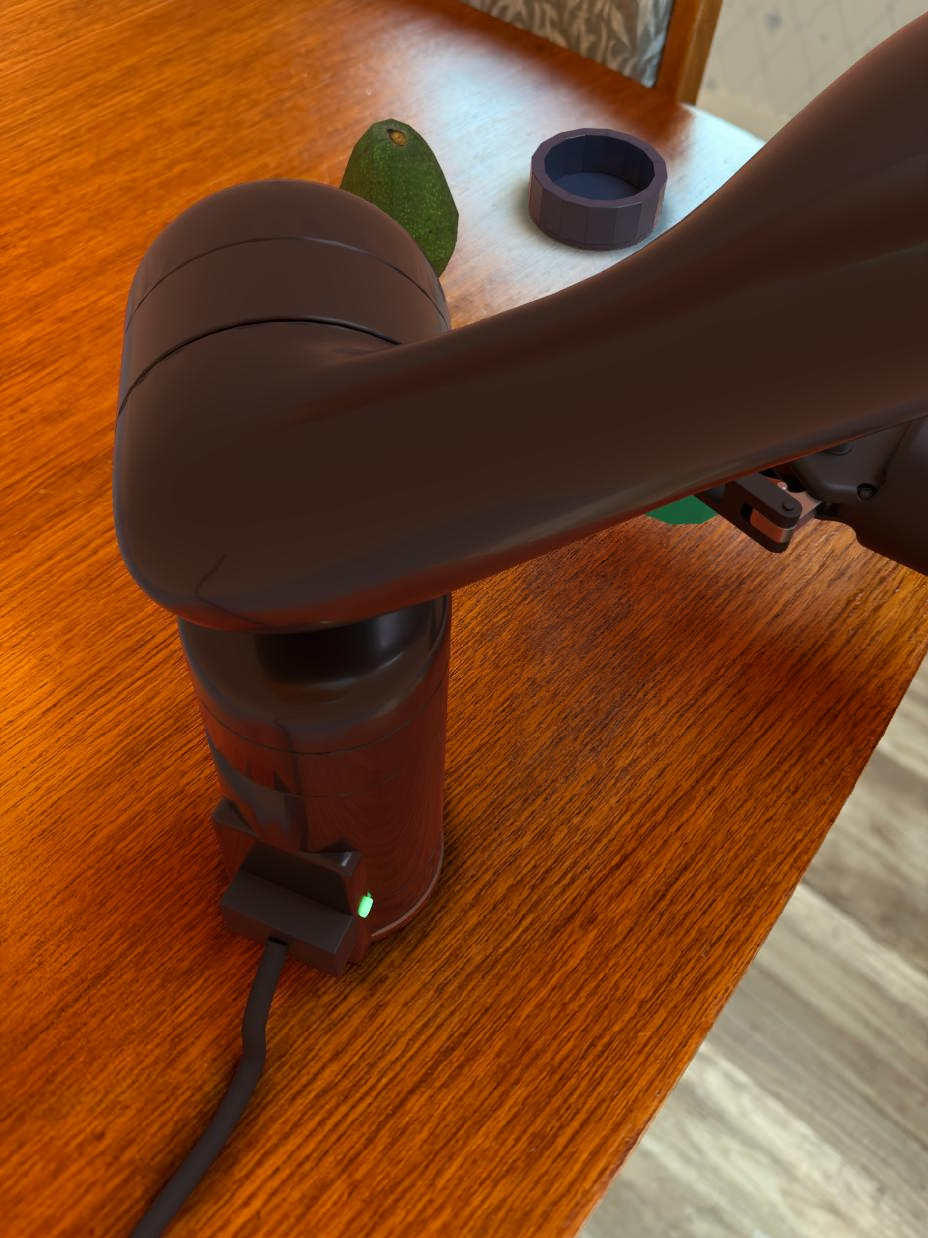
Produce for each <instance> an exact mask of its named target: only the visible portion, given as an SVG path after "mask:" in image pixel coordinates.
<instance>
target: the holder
mask: <svg viewBox="0 0 928 1238" xmlns="http://www.w3.org/2000/svg"><path fill="white" fill-rule="evenodd" d="M668 178H669V175H668V169H667V163H666V160H665V159H664V158H663V156H662V155H661V154H660V153H659V151H657V150H656V148H655V147H654V146H652V145H651V144H649V143H648V142H645V141H644V140H642V139H640V138H639V137H637V136H636V135H633V134H631V133H630V134H629V133H625V132H622V131H618V130H615V129H612V128H611V129H610V128H599V127H581V128H575V129H570V130H567V131H561V132H558V133H556V134H554V135H552V136H551V137H549V138H547V139H545V140H544V141H542V142H541V143H539V145H538V147H537V148H536V150H535V151H534V152H533V154H532V155H531V158H530V169H529V181H528V193H527V196H528V197H527V198H528V199H527V200H528V201H527V210H528V214H529V217H530V219H531V221H532V223H533V224H534V225H535V227H536V228H537V229H538V231H540V232H541V233H543V234H544V235H545V236H547V237H549V238H550V239H552V240H553V241H555V242H557V243H560V244H563V245H566V246H568V247H571V248H575V249H579V250H584V251H585V250H586V251H595V252H597V251H598V252H605V251H616V250H621V249H625V248H628V247H631V246H634V245H636V244H639V243H640V242H642V241H644V240H645V239H647V238H648V237H649V236H650V235H651V234H652V233H653V232H654V230H655V229H656V227H657V225H658V223H659V219H660V216H661V214H662V209H663V203H664V198H665V194H666V189H667V183H668Z"/></svg>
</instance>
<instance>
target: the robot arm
mask: <svg viewBox="0 0 928 1238" xmlns="http://www.w3.org/2000/svg"><path fill="white" fill-rule="evenodd" d="M124 312H125V314H124V322H123V337H122V347H121V348H122V349H121V357H120V367H119V378H118V389H117V390H118V391H117V401H116V411H115V422H114V423H115V424H114V440H113V447H112V448H113V449H112V470H111V471H112V473H111V474H112V475H111V481H112V482H111V499H112V501H111V502H112V514H113V521H114V522H113V523H114V529H115V536H116V543H117V546H118V551H119V553H120V556H121V558H122V561H123V563H124V565H125V568H126V570H127V572H128V573H129V575H130V576H131V578H132V580H133V581H134V583H135V584H136V585H137V586H138V587H139V588H140V589H141V591H142V592H143V593H144V594H145V595H146V596H147V597H148V598H149V599H150V600H151V601H152V602H153V603H155V604H156V605H157V606H159V607H160V608H162V609H164V610H165V611H166V612H168V613H170V614H172V615H174V616H175V617H176V618H175V619H176V625H177V631H178V637H179V641H180V645H181V648H182V649H181V650H182V652H183V656H184V660H185V662H186V667H187V671H188V675H189V677H190V680H191V683H192V688H193V691H194V694H195V698H196V701H197V705H198V709H199V712H200V713H199V714H200V716H201V721H202V724H203V728H204V732H205V736H206V740H207V742H208V746H209V747H208V748H209V750H210V753H211V754H210V755H211V757H212V761H213V764H214V768H215V773H216V775H217V780H218V783H219V786H220V790H221V794H222V795H221V797H220V799H219V800H218V802H217V803H216V805H215V807H214V808H213V810H212V812H211V814H210V817H209V818H210V821H211V825H212V829H213V831H214V835H215V838H216V841H217V842H216V843H217V845H218V848H219V852H220V855H221V857H222V862H223V865H224V868H225V871H226V875H227V878H228V881H229V884H228V886H227V888H226V889H225V892H224V893H223V894H222V896H221V898H220V900H219V902H218V906H219V909H220V913H221V914H222V918H223V921H224V924H225V927H226V929H227V931H229V932H232V933H234V934H237V935H238V936H241V937H243V938H245V939H247V940H250V941H252V942H254V943H256V944H259V945H261V946H264V948H263V951H262V953H261V957H260V958H259V959H260V960H259V963H258V965H257V969H256V971H255V974H254V977H253V980H252V983H251V986H250V989H249V993H248V996H247V998H246V999H247V1000H246V1002H245V1006H244V1011H243V1015H242V1020H241V1027H240V1029H241V1030H240V1031H241V1033H240V1034H241V1044H242V1052H241V1057H240V1060H239V1062H238V1066H237V1068H236V1071H235V1073H234V1075H233V1078H232V1081H231V1083H230V1084H229V1087H228V1089H227V1091H226V1093H225V1095H224V1097H223V1099H222V1100H221V1103H220V1105H219V1106H218V1108H217V1110H216V1112H215V1113H214V1115H213V1117H212V1119H211V1120H210V1122H209V1123H208V1125H207V1126H206V1128H205V1129H204V1131H203V1132H202V1135H201V1136H200V1137H199V1139H198V1140H197V1141H196V1143H195V1145H194V1146H193V1147H192V1149H191V1150H190V1152H188V1155H187V1156H186V1157H185V1158H184V1160H183V1161H182V1163H181V1164H180V1165H179V1167H178V1168H177V1170H176V1171H175V1172H174V1173H173V1175H172V1176H171V1178H170V1179H169V1180H168V1182H167V1183H166V1184H165V1186H164V1187H163V1188H162V1190H161V1191H160V1192H159V1194H157V1196H156V1198H155V1199H154V1200H153V1202H151V1204H150V1205H149V1207H148V1208H147V1210H146V1211H145V1212H144V1214H143V1215H142V1217H140V1219H139V1220H138V1222H137V1223H136V1225H135V1226H134V1228H133V1229H132V1230H131V1232H130V1233H129V1235H128V1236H127V1238H161V1236H162V1234H163V1233H164V1231H165V1230H166V1229H167V1228H168V1226H169V1225H170V1223H171V1222H172V1221H173V1219H174V1218H175V1216H176V1215H177V1213H178V1212H179V1211H180V1209H181V1208H182V1207H183V1205H184V1204H185V1202H186V1201H187V1200H188V1198H189V1197H190V1195H192V1193H193V1192H194V1190H195V1189H196V1187H197V1186H198V1185H199V1183H200V1182H201V1181H202V1180H203V1178H204V1176H205V1175H206V1174H207V1172H208V1170H209V1169H210V1168H211V1166H212V1165H213V1163H214V1162H215V1161H216V1159H217V1158H218V1156H219V1154H220V1153H221V1152H222V1150H223V1149H224V1147H225V1145H226V1144H227V1142H228V1140H230V1137H231V1135H233V1132H234V1131H235V1129H236V1127H237V1125H238V1123H239V1122H240V1120H241V1118H242V1116H243V1114H244V1112H245V1110H246V1108H247V1106H248V1105H249V1102H250V1100H251V1098H252V1095H253V1093H254V1092H255V1089H256V1087H257V1085H258V1081H259V1079H260V1077H261V1074H262V1072H263V1069H264V1067H265V1063H266V1059H267V1043H266V1029H267V1022H268V1018H269V1015H270V1014H269V1013H270V1010H271V1006H272V1002H273V999H274V995H275V993H276V989H277V987H278V984H279V981H280V978H281V975H282V972H283V969H284V967H285V963H286V960H287V958H288V957H289V958H290V959H293V960H295V961H297V962H299V963H302V964H304V965H306V966H309V967H310V968H313V969H315V970H318V971H320V972H322V973H324V974H326V975H328V976H331V977H333V978H336V979H339V978H340V977H341V975H342V974H343V971H344V969H345V967H346V966H347V965H346V964H347V963H348V962H350V963H352V964H358V963H361V962H362V960H363V959H364V957H365V955H366V952H367V951H368V949H369V948H370V946H371V945H372V944H373V943H376V942H379V941H380V940H384V939H385V938H388V937H389V936H391V935H393V934H395V933H397V932H398V931H399V930H401V929H402V928H404V927H405V926H406V925H408V924H409V923H410V922H411V921H413V920H414V918H415V917H416V916H417V915H418V914H420V912H421V911H422V910H423V909H424V907H425V906H426V904H427V903H428V902H429V900H430V899H431V897H432V896H433V894H434V891H435V890H436V887H437V885H438V883H439V881H440V877H441V873H442V870H443V864H444V852H445V837H444V836H445V835H444V827H443V825H444V824H443V823H444V797H445V772H446V771H445V769H446V750H447V749H446V747H447V728H448V727H447V725H448V724H447V723H448V702H449V701H448V700H449V688H450V687H449V686H450V665H451V664H450V663H451V644H452V642H451V641H452V621H453V620H452V619H453V592H455V591H457V590H460V589H463V588H465V587H467V586H470V585H473V584H475V583H477V582H480V581H483V580H485V579H488V578H490V577H493V576H496V575H498V574H500V573H503V572H505V571H508V570H510V569H513V568H515V567H518V566H520V565H523V564H525V563H528V562H530V561H532V560H535V559H537V558H539V557H542V556H545V555H548V554H549V553H553V552H554V551H557V550H560V549H562V548H564V547H567V546H569V545H572V544H574V543H576V542H580V541H581V540H584V539H586V538H588V537H591V536H594V535H596V534H598V533H601V532H603V531H605V530H609V529H611V528H613V527H616V526H618V525H621V524H624V523H625V522H628V521H631V520H633V519H636V518H638V517H641V516H643V515H644V514H646V513H648V512H651V511H653V510H656V509H658V508H661V507H663V506H666V505H668V504H671V503H673V502H676V501H678V500H681V499H684V498H686V497H689V496H691V495H694V496H695V497H696V498H698V499H699V500H700V501H702V502H703V503H704V504H706V505H707V506H708V507H710V508H711V509H712V510H714V511H715V512H716V513H718V514H719V515H718V516H720V517H721V518H723V519H724V520H726V521H727V522H728V523H730V524H731V525H733V526H734V527H735V528H737V530H739V531H741V532H742V533H743V534H744V535H746V536H747V537H748V538H750V540H752V541H754V542H755V543H757V544H758V545H759V546H761V547H762V548H763V549H765V550H766V551H767V552H769V553H773V554H782V553H784V552H786V551H787V550H788V549H789V547H790V543H791V541H792V539H793V537H794V535H795V533H796V532H797V531H799V530H800V529H801V528H802V527H804V526H805V525H806V524H807V523H808V522H810V521H812V519H814V520H817V521H827V522H833V523H834V522H835V523H839V524H843V525H845V526H848V527H849V528H851V529H852V530H853V532H854V533H855V537H856V541H857V543H858V544H859V545H860V546H861V547H863V548H865V549H867V550H869V551H871V552H873V553H876V554H877V555H880V556H882V557H884V558H887V559H888V560H890V561H893V562H895V563H897V564H899V565H901V566H903V567H905V568H907V569H910V570H912V571H914V572H917V573H918V574H920V575H923V576H925V577H927V578H928V11H926V12H924V13H922V14H921V15H920V16H918V17H917V18H914V19H913V20H912V21H910V22H908V23H906V24H905V25H904V26H902V27H901V28H899V29H898V30H897V31H895V32H894V33H892V34H891V35H889V36H888V37H887V38H885V39H884V40H883V41H881V42H880V43H878V44H877V45H876V46H875V47H873V48H872V49H871V50H870V51H868V52H867V53H866V54H864V55H863V56H861V58H859V59H858V60H857V61H856V62H854V63H853V64H852V65H850V67H848V69H846V70H845V71H844V72H843V73H841V75H839V76H838V77H837V78H836V79H835V80H833V82H831V83H830V84H829V85H828V86H827V87H826V88H823V90H822V91H821V92H820V93H818V94H817V95H816V96H815V97H813V99H812V100H811V101H810V102H808V104H806V105H805V106H804V107H803V108H802V109H801V110H800V111H799V112H798V113H797V114H795V115H794V117H792V118H791V119H790V120H789V121H788V122H787V123H786V124H784V126H783V127H781V129H779V130H778V131H777V132H776V133H775V134H774V135H773V136H772V137H771V138H770V139H769V140H768V141H767V142H766V143H765V144H763V146H762V147H761V148H760V149H758V150H757V151H756V152H755V153H754V154H753V155H752V156H751V157H750V158H749V159H748V160H747V161H746V162H745V163H744V164H743V165H742V166H740V168H739V169H738V170H736V171H735V172H734V173H733V174H732V175H731V176H730V177H729V178H728V179H727V180H726V181H725V182H724V183H723V184H722V185H721V186H720V187H719V188H717V189H716V190H715V191H714V192H712V194H710V195H709V196H708V197H707V198H705V199H704V200H703V201H702V202H701V203H699V205H697V206H696V207H695V208H694V209H692V210H691V211H690V212H689V213H688V214H686V215H685V216H684V217H683V218H681V220H679V221H677V222H676V223H675V224H673V225H672V226H671V227H669V228H668V229H667V230H665V231H664V232H663V233H661V234H660V235H659V236H657V237H655V238H654V239H653V240H651V241H650V242H649V243H647V244H645V245H644V246H643V247H641V248H640V249H638V250H636V251H635V252H632V254H629V255H628V256H626V257H624V258H623V259H621V260H620V261H617V262H616V263H614V264H612V265H610V266H609V267H607V268H605V269H604V270H602V271H600V272H598V273H595V274H593V275H592V276H589V277H587V278H585V279H582V280H580V281H578V282H576V283H573V284H572V285H569V286H566V287H564V288H562V289H560V290H558V291H556V292H553V293H551V294H548V295H545V296H543V297H540V298H538V299H535V300H532V301H528V302H526V303H523V304H521V305H518V306H516V307H513V308H509V309H507V310H505V311H502V312H499V313H496V314H494V315H490V316H487V317H485V318H482V319H479V320H477V321H475V322H471V323H469V324H466V325H463V326H460V327H456V328H454V329H453V328H452V322H451V315H450V310H449V305H448V302H447V297H446V294H445V291H444V288H443V285H442V282H441V281H440V277H439V278H438V276H437V274H436V272H435V270H434V268H433V266H432V264H431V263H430V261H429V260H428V258H427V256H426V255H425V253H424V252H423V250H422V249H421V248H420V246H419V245H418V244H417V243H416V241H415V240H414V239H413V238H412V237H411V235H410V234H409V233H408V232H407V231H406V230H405V229H404V228H403V227H402V226H401V225H400V224H399V223H397V222H396V221H395V220H394V219H393V218H392V217H390V216H389V215H388V214H386V213H385V212H384V211H382V210H381V209H379V208H378V207H377V206H375V205H373V204H372V203H370V202H368V201H366V200H365V199H363V198H361V197H359V196H357V195H354V194H352V193H350V192H348V191H346V190H343V189H340V187H337V186H333V185H330V184H326V183H323V182H318V181H313V180H308V179H307V180H306V179H300V178H299V179H298V178H268V179H267V178H265V179H256V180H252V181H247V182H242V183H238V184H235V185H231V186H228V187H224V188H222V189H219V190H217V191H215V192H213V193H211V194H208V195H207V196H205V197H204V198H201V199H199V200H197V201H196V202H194V203H193V204H191V205H190V206H188V207H187V208H186V209H184V210H182V211H181V212H180V213H179V214H178V215H177V216H175V218H173V219H172V220H171V221H170V222H169V223H168V224H167V225H166V226H165V228H163V230H161V232H160V233H159V234H158V235H157V237H156V238H155V239H154V240H153V242H152V243H151V245H149V247H148V248H147V250H146V252H145V253H144V255H143V257H142V259H141V260H140V262H139V264H138V267H137V268H136V271H135V272H134V275H133V278H132V281H131V283H130V287H129V291H128V295H127V301H126V306H125V309H124Z"/></svg>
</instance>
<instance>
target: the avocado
mask: <svg viewBox="0 0 928 1238" xmlns="http://www.w3.org/2000/svg"><path fill="white" fill-rule="evenodd" d="M339 188H340V189H343V190H346V191H348V192H350V193H352V194H354V195H357V196H359V197H361V198H363V199H365V200H366V201H368V202H370V203H372V204H373V205H375V206H377V207H378V208H379V209H381V210H382V211H384V212H385V213H386V214H388V215H389V216H390V217H392V218H393V219H394V220H395V221H396V222H397V223H399V224H400V225H401V226H402V227H403V228H404V229H405V230H406V231H407V232H408V233H409V234H410V235H411V237H412V238H413V239H414V240H415V241H416V243H417V244H418V245H419V246H420V248H421V249H422V250H423V252H424V253H425V255H426V256H427V258H428V260H429V261H430V263H431V264H432V266H433V268H434V270H435V272H436V274H437V276H438V278H439V279H440V277H441V276H442V275H443V274H444V272H445V271H446V269H447V267H448V265H449V263H450V261H451V259H452V257H453V255H454V252H455V249H456V245H457V241H458V234H459V222H460V221H459V220H460V212H459V210H458V208H457V205H456V202H455V200H454V197H453V194H452V192H451V189H450V187H449V183H448V181H447V178H446V176H445V174H444V170H443V169H442V167H441V164H440V163H439V160H438V159H437V157H436V155H435V153H434V151H433V150H432V148H431V146H430V145H429V143H428V142H427V140H426V139H425V138H424V136H422V135H421V134H420V133H419V132H418V131H417V130H415V128H413V127H412V126H411V125H410V124H408V123H405V122H402V121H400V120H397V119H395V118H392V117H390V118H387V119H384V120H380V121H376V122H373V123H372V124H371V125H370V126H369V127H368V128H367V129H366V131H365V132H364V133H363V134H362V135H361V137H359V138H358V140H357V142H356V143H355V145H354V146H353V148H352V150H351V153H350V155H349V158H348V161H347V164H346V167H345V170H344V173H343V176H342V178H341V182H340V185H339Z"/></svg>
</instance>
